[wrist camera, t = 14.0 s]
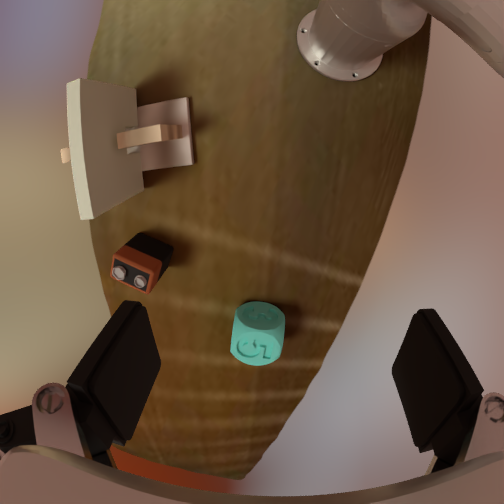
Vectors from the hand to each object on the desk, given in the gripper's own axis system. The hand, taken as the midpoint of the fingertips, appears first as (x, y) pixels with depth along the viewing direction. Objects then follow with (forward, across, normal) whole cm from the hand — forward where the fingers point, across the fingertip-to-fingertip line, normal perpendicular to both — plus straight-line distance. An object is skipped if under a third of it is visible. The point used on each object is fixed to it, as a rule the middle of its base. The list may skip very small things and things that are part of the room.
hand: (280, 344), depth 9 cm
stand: (+33, +21, -6) cm, 40 cm away
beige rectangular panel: (+32, +21, -6) cm, 39 cm away
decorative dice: (+33, +2, +25) cm, 42 cm away
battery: (+33, +20, +12) cm, 41 cm away
